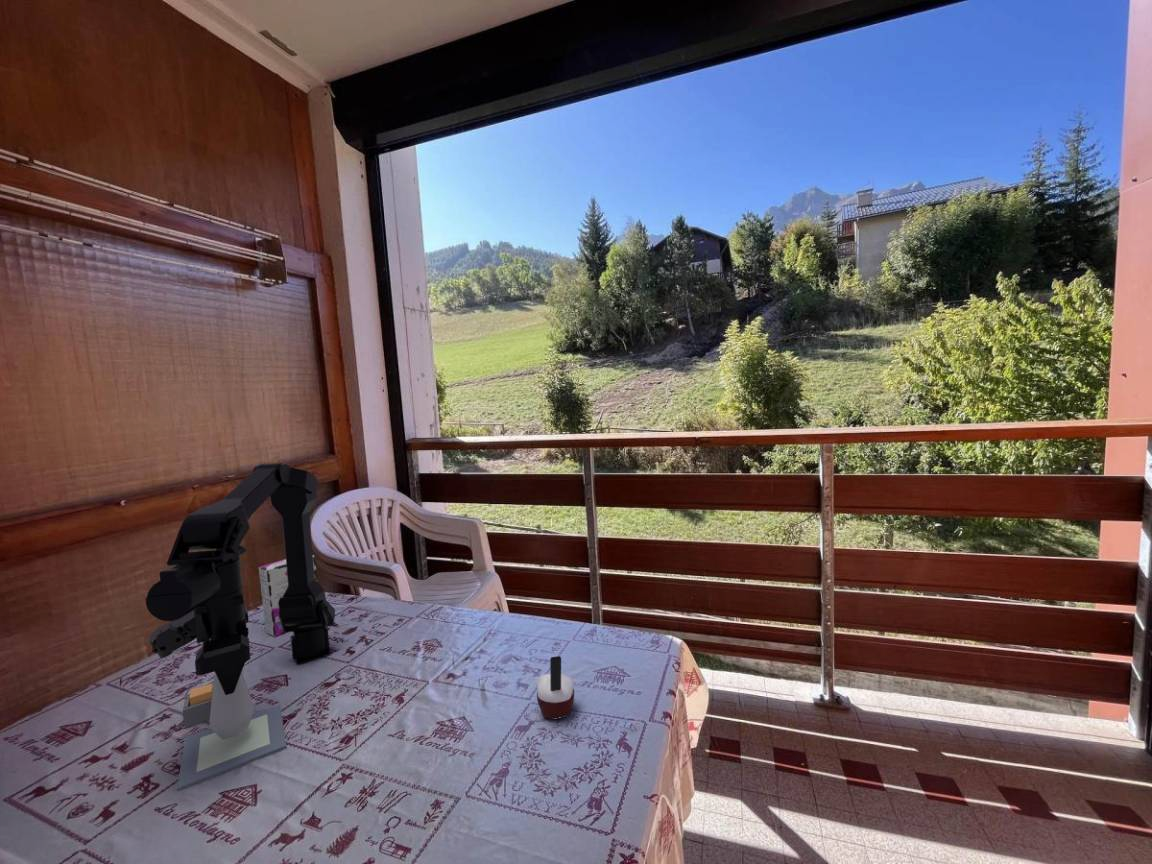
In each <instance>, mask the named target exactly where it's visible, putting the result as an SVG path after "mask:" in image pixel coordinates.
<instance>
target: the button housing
mask: <svg viewBox="0 0 1152 864" xmlns="http://www.w3.org/2000/svg"><path fill="white" fill-rule="evenodd" d="M189 698H190V694H189V695H187V696H185V697H184V702H183V706H182V707H183V709H182V716H183V725H184V726H183V727H184V730H186V729H188V728H189V729H190V728H191V727H195V726H198V725H199V724H200V725H201V724H203V723H206V722H209V721H210V712H211V702H212V700H209V701H206V702H202V703H199V704H196V705H193V706H190V699H189Z"/></svg>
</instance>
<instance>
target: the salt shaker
mask: <svg viewBox="0 0 1152 864" xmlns="http://www.w3.org/2000/svg"><path fill="white" fill-rule="evenodd" d="M213 674H214V676H213V683H212V684H213V693H212V702H211V712H210V720H209V721H208V722H209V723H208V724H209V727H210V729H212V730H213V731H214V732H215V733H216V734H217V735H218V736H219V737H220V738H222V739H227V738H231V737H235V736H238V735H239V734H241V733H242V732H244V731H245V730H246V729H248V727H249V724H250V721H251V718H252V716H253V714H254V713H256V712H255V710H256V708H255V704H254V702H253V700H252V697H251V695H250V694H251V693H250V691H249V688H248V685H247V682H246V679H245V677H244V676H245V675H244V674H243V671H242V672H241V675H240V677H239V680H238V683H237V686H236V689H235V691H234V693H232V694H229V695H225V693H224V691H223V689H222V686H221V684H220V682H219V680H218V677H217V675H216V673H215V671H214V672H213Z"/></svg>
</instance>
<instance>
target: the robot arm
mask: <svg viewBox="0 0 1152 864" xmlns="http://www.w3.org/2000/svg"><path fill="white" fill-rule="evenodd" d="M252 470H253V471H252V472H251V473H250V474H249V475H248V476H247V477H246V478H245V479H244V480H242V481H241V482H240V483H239V484H238V485H237V486H236V487H235V488H233V489H232V490H231V491H230V492H229V493H228V494H227V495H226V496H225V497H223V498H222V499H221V500H219V501H217V502H214V503H211V504H208V505H205V506H202V507H200V508H198V509H197V510H195V511H193V512H192V513H189V514H188V515H187V516H186V517H185V518H184V519H183V521H182V523H181V525H180V527H179V529H178V532H177V535H176V539H175V541H174V543H173V546H172V549H171V551H170V553H169V557H168V559H167V562H166V565H167V566H168V567H169V568H165V569H163V570H161V571H160V572H159V580H158V582H155V583H154V584H153V585H152V586H151V587H150V589H149V590H148V592H147V595H146V598H145V605H146V609H147V611H148V612H149V613H150V614H151V615H152V616H153V617H155V618H156V619H158V620H159V621H165V622H166V623H165V624H163V625H161V626H159V627H158V628H156V629H155V630H153V631H152V632H151V634H150V636H149V639H148V643H149V644H150V645H151V647H152V648H151V652H152V654H157V655H158V657H159V658H160V659H164V658H167V657H169V656H170V655H172V653H174V652H176V651H177V650H179V649H180V648H182V647H184V646H186V645H187V644H189V643H191V642H192V641H194V640H195V639H196V643H197V644H200V643H202V646H201V647H200V648H199V649H198V650H197V651H196V654H195V660H194V667H195V674H196V676H204V675H207V674H211V673H214V674H215V673H216V675H217V677H218V680H219V682H220V684H221V686H222V689H223V691H224V693H225V695H229V694H232V693H234V691H235V689H236V686H237V683H238V680H239V677H240V675H241V672H242V673H243V668H244V666H245V663H247V662H248V661H249V660H251V647H250V638H249V633H250V632H249V627H247V624H248V623H249V612H248V606H246V605H245V598H244V597H245V596H244V588H243V578H242V577H243V575H242V568H241V567H242V565H241V558H240V556H241V555H243V554H246V552H247V548H246V547H244V546H243V545H241V543H242V541H243V540H244V538H245V536H247V534H248V532H249V530H250V529H251V525H250V521H249V520H250V518H251V517H252V515H253V514H255V512H256V511H257V510H258V509H259V508H260V507H261V506H262V505H263V504H264V503H265V502H266V500H268V499H270V504H271V506H272V507H273V508H274V510H275V511H276V512H277V513H278V515H280V517H281V521H282V532H283V541H284V553H285V555H284V556H285V559H286V567H287V578H288V588H287V590H286V591H285V593H284V595H283V597H282V598H280V599H279V602H278V604H279V618H280V621H281V624H282V627H283V630H284V634H286V633H290V632H292V635H290V637H289V638H290V649H291V656H292V659H293V660H295V663H296V665H298V666H299V665H301V664H304V663H308V662H311V661H314V660H317V659H318V660H319V659H321V658H324V657H327V656H331V655H332V650H331V648H330V637H329V627H330V626H333V625H335V618H336V608H334V607H333V605H332V604H331V603H330V602H328V600H327V597H326V592H325V591H326V590H325V589H324V587H322V585H321V584H320V583H319V582H318V580H317V581H316V580H315V576H314V565H313V554H314V553H313V543H312V534H311V533H312V532H311V520H310V512H311V509H312V508H313V506H314V504H315V502H316V501H317V494H318V493H317V491H318V488H319V482H318V478H317V477H316V476H315V475H314V474H312V472H310V471H307V470H303V469H299V468H297V467H296V468H295V467H292V466H290V465H289V464H286V463H282V462H272V463H261V464H259V465H255V467H254V468H253V469H252ZM170 566H173V567H170ZM214 671H215V672H214Z"/></svg>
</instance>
